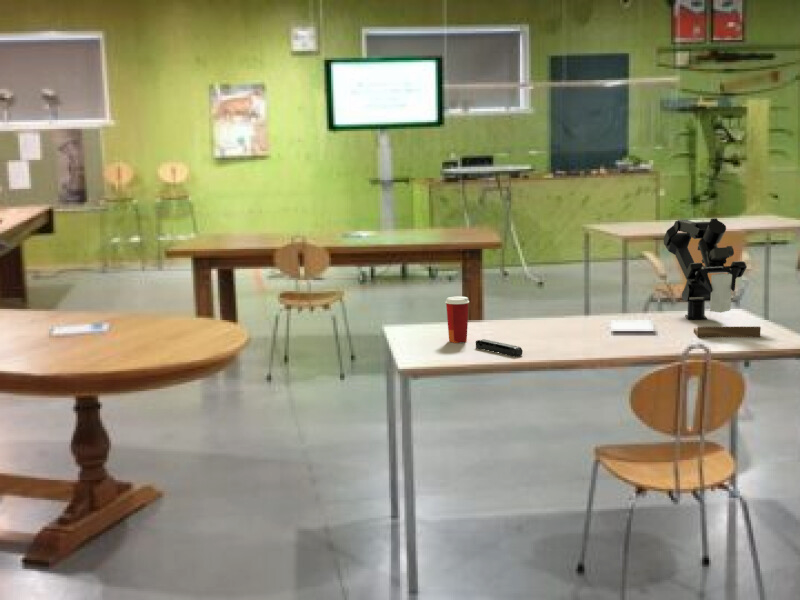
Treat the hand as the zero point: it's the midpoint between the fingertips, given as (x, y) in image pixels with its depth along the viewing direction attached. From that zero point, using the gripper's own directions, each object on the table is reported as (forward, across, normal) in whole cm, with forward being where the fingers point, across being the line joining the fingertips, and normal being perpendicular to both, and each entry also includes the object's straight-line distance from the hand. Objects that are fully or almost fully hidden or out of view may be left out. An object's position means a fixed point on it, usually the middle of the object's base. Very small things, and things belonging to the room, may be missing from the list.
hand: (722, 291), depth 324 cm
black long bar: (+22, -77, -3) cm, 80 cm away
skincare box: (+4, 0, +6) cm, 7 cm away
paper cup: (+9, -87, +10) cm, 88 cm away
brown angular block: (+14, -2, +4) cm, 15 cm away
